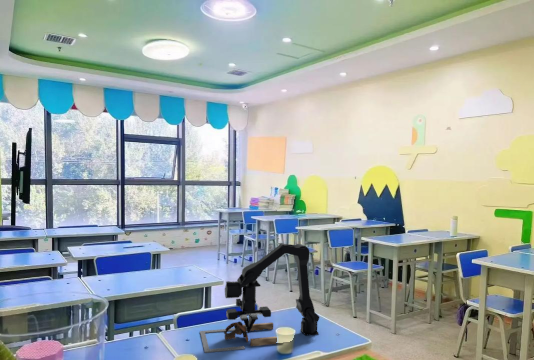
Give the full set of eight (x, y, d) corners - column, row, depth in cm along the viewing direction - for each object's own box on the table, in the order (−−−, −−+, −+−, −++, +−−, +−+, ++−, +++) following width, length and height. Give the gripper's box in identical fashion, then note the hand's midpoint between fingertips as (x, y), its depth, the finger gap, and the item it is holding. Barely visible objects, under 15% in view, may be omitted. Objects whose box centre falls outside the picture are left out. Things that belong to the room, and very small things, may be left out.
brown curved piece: (248, 346, 153) (239, 330, 151) (228, 354, 155) (219, 338, 153) (252, 328, 165) (243, 313, 163) (233, 335, 166) (224, 320, 165)
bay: (235, 329, 170) (235, 328, 170) (244, 349, 150) (244, 348, 150) (199, 331, 166) (199, 331, 166) (204, 352, 145) (204, 351, 145)
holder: (272, 327, 173) (272, 322, 173) (283, 343, 156) (283, 337, 156) (242, 330, 169) (242, 324, 169) (251, 346, 152) (251, 340, 152)
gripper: (265, 290, 171) (264, 324, 171) (224, 292, 166) (223, 327, 166) (271, 297, 160) (271, 333, 160) (228, 300, 156) (228, 337, 155)
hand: (248, 332), depth 161 cm, fingers closed
